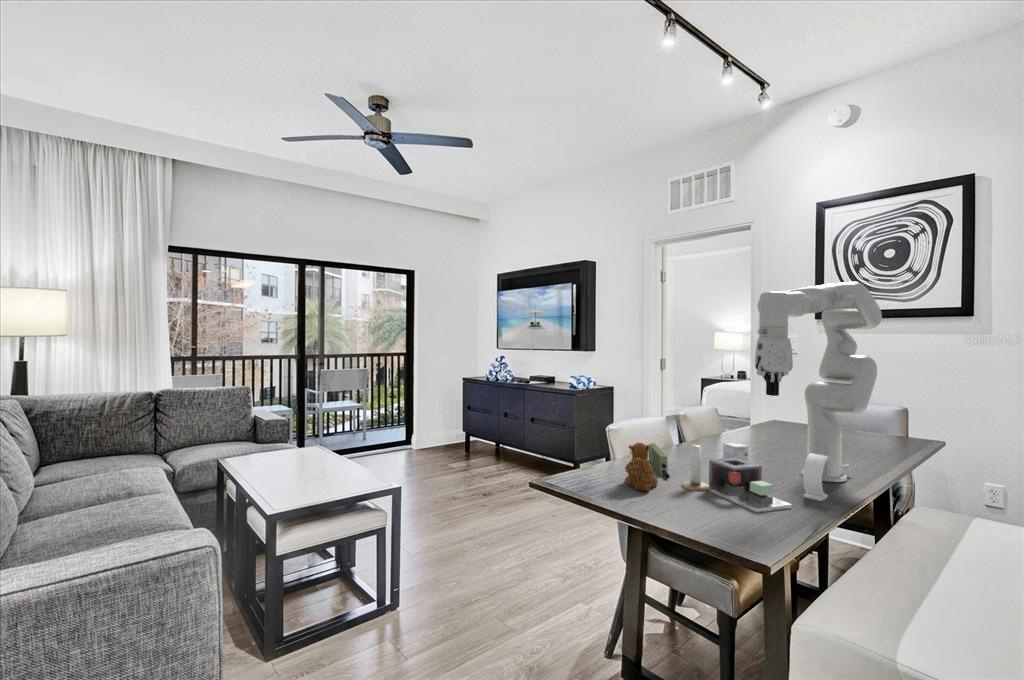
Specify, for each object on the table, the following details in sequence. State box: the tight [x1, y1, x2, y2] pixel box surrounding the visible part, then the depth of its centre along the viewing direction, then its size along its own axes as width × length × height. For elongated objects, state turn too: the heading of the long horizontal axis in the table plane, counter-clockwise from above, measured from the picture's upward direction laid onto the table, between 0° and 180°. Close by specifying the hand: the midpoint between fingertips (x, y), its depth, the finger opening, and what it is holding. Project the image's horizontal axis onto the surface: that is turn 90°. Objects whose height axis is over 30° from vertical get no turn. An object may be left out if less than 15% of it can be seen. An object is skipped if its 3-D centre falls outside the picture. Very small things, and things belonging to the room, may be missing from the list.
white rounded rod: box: [690, 444, 702, 486], centre depth 150 cm, size 3×3×12 cm
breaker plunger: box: [728, 471, 741, 486], centre depth 144 cm, size 3×3×4 cm
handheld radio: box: [648, 442, 671, 479], centre depth 170 cm, size 7×3×25 cm
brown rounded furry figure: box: [624, 442, 658, 492], centre depth 150 cm, size 10×14×13 cm
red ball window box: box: [705, 458, 793, 514], centre depth 140 cm, size 12×20×9 cm, turn 17°
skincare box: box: [722, 442, 749, 461], centre depth 177 cm, size 6×6×7 cm
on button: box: [750, 480, 774, 497], centre depth 135 cm, size 4×4×4 cm
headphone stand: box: [802, 453, 829, 502], centre depth 141 cm, size 5×6×12 cm
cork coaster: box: [681, 480, 709, 492], centre depth 150 cm, size 8×8×1 cm
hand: (772, 395), depth 145 cm, fingers closed
